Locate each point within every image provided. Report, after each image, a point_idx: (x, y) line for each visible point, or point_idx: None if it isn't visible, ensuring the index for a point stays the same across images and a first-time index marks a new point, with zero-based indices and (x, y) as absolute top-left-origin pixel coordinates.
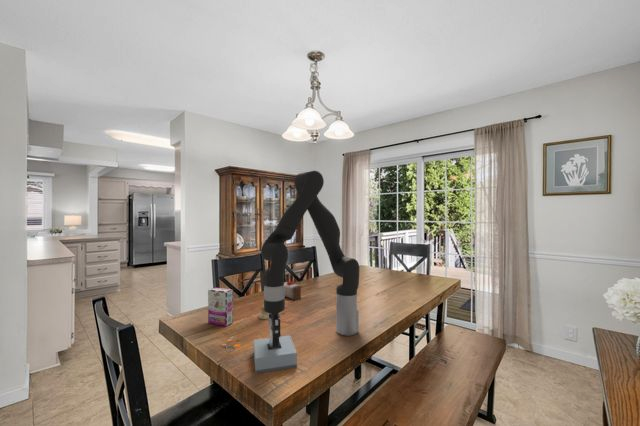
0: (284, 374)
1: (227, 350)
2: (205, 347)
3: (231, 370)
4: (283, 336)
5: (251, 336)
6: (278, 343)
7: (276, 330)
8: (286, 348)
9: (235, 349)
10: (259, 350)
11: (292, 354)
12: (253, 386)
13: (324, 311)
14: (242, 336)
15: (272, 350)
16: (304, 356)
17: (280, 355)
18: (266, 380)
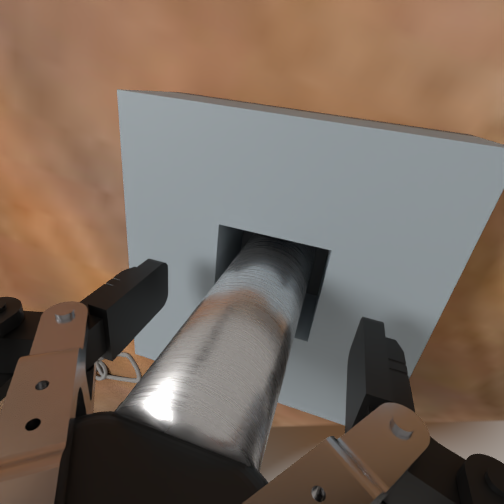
0: (495, 249)
1: (131, 381)
2: None
3: (290, 420)
4: (127, 159)
5: (18, 260)
6: (384, 345)
7: (271, 409)
8: (359, 217)
9: (128, 355)
10: (286, 383)
11: (493, 198)
12: (483, 410)
13: None
14: (18, 294)
15: (329, 322)
16: (349, 8)
17: (444, 302)
18: (478, 350)
